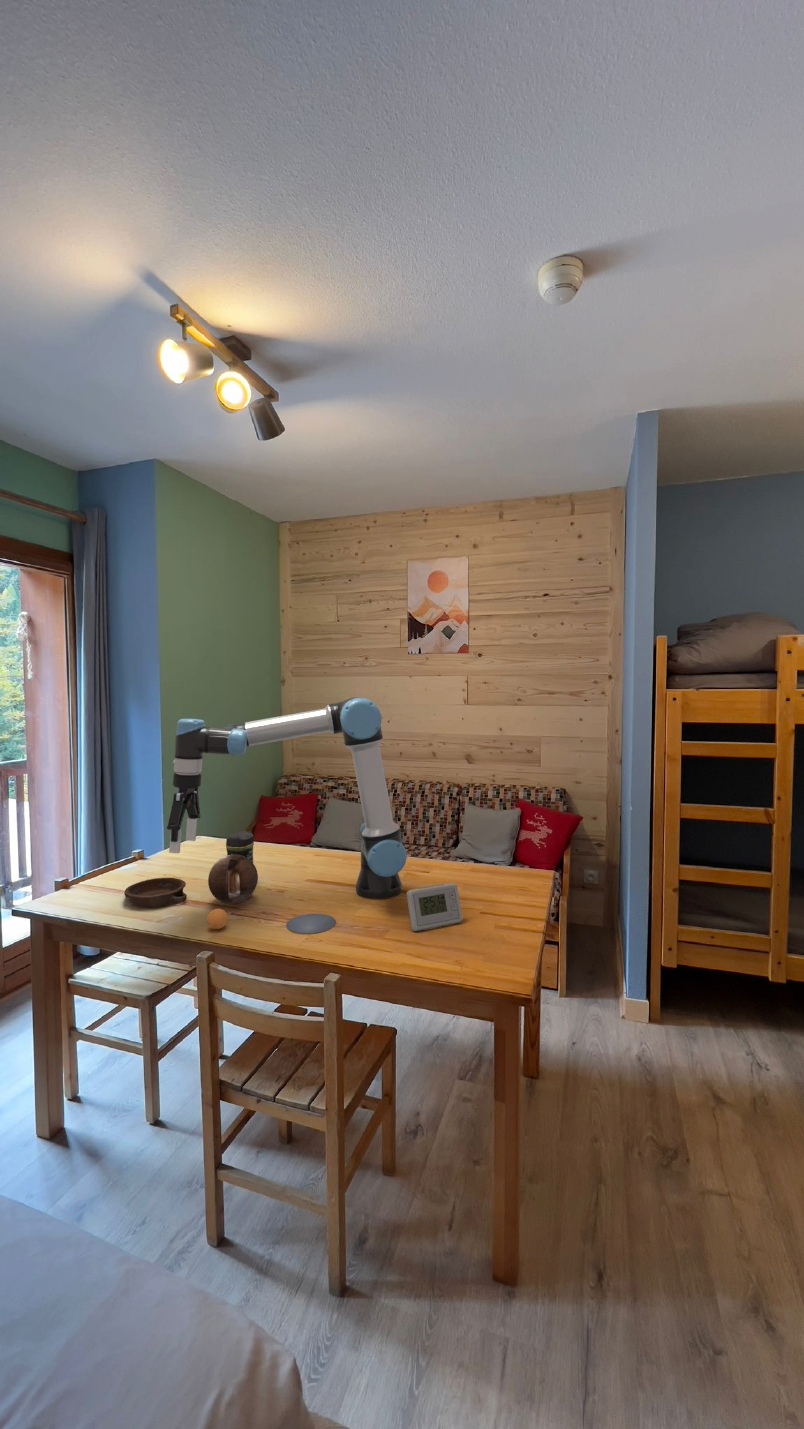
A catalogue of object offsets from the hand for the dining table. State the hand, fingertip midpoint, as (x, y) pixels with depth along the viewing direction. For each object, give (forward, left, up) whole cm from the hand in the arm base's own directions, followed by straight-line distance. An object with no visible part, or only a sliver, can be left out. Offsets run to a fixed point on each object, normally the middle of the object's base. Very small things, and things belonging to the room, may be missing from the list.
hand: (182, 846), depth 171 cm
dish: (+14, -19, -23) cm, 33 cm away
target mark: (-36, +6, -22) cm, 43 cm away
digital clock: (-71, +11, -23) cm, 76 cm away
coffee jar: (-11, -28, -22) cm, 38 cm away
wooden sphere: (-11, -14, -22) cm, 29 cm away
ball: (-10, +6, -19) cm, 23 cm away
